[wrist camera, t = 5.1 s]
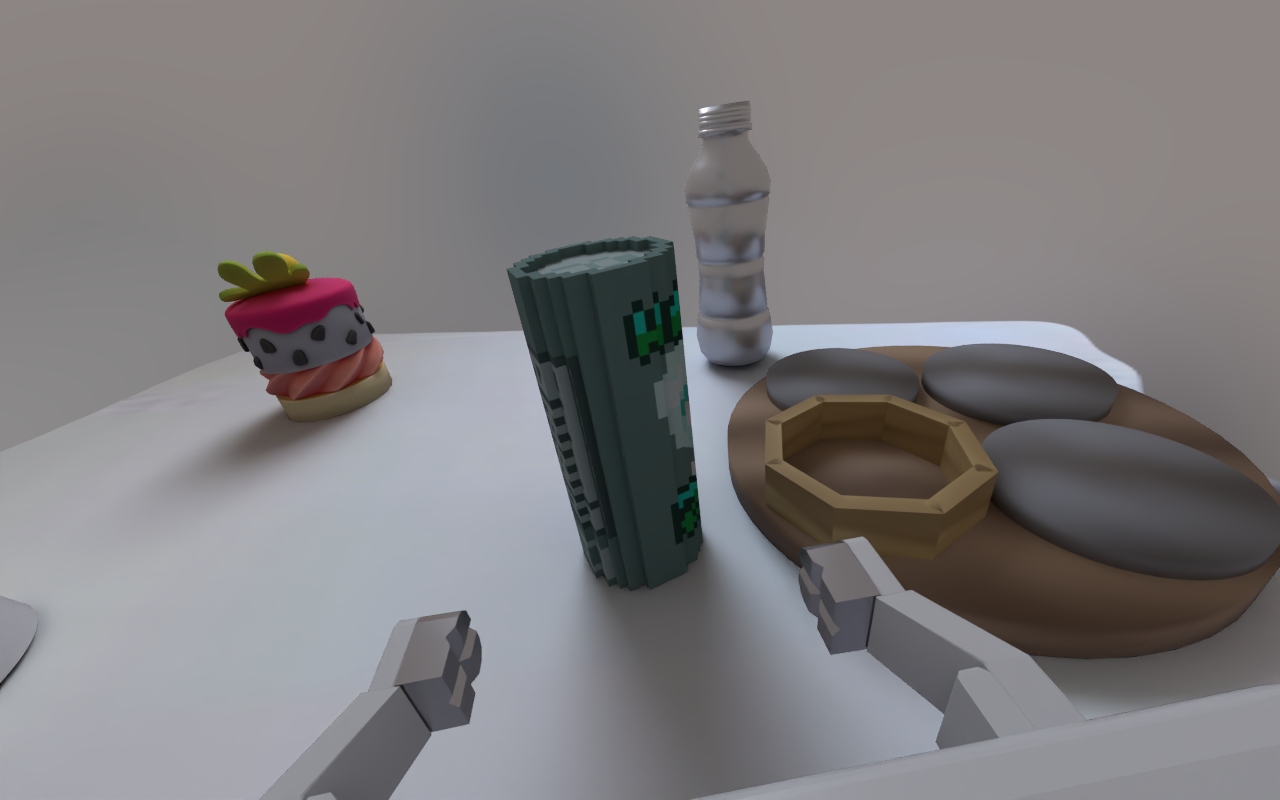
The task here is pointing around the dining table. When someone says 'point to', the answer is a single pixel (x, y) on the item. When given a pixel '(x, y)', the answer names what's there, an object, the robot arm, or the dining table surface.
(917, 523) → the wooden stone platter
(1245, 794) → the robot arm
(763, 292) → the plastic bottle
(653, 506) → the can
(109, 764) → the dining table surface
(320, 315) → the cake
